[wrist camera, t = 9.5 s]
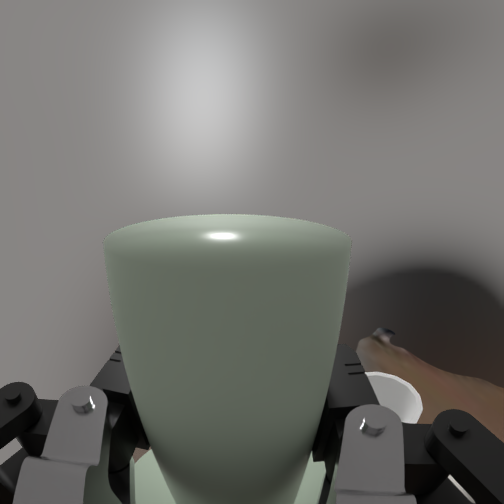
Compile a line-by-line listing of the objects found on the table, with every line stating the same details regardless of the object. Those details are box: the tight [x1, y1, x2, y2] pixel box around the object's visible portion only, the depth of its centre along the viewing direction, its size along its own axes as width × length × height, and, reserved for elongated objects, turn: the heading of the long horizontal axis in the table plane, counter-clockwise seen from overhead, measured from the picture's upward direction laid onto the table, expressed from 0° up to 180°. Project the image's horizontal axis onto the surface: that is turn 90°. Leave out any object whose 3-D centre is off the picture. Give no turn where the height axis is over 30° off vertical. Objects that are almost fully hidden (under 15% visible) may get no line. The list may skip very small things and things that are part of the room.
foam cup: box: [365, 372, 423, 424], centre depth 25 cm, size 10×9×13 cm
